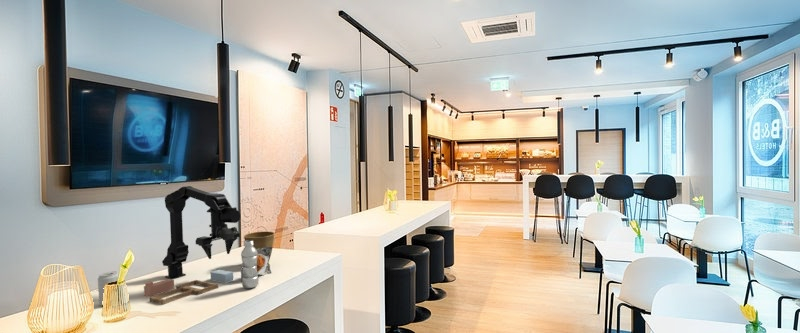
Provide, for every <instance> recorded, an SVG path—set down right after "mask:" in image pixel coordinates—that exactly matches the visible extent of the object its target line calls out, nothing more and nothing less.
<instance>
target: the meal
mask: <svg viewBox="0 0 800 333" xmlns="http://www.w3.org/2000/svg"><path fill="white" fill-rule="evenodd" d="M271 249H272V250H273V248H272V247H267V248H261V249H256V250H257V252H258V255H257V265H256V266H257V276H258V277H260V276H264V275H265V274H272V270H271V265H270V262H269V263H268V259H269V257H270V255H271V256H272V253H271V251H270V250H271ZM270 258H271V257H270ZM240 266H241V267H242V268H240V281H241V282H242V278H243V263H242V262H241V264H240Z"/></svg>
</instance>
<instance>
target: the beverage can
mask: <svg viewBox="0 0 800 333" xmlns="http://www.w3.org/2000/svg"><path fill="white" fill-rule="evenodd" d="M118 279H119V274H118V272H117V271H108V272H103V273H100V274H99V275H98V278H97V286H98V287H97V288H98V289H97V290H98V305H100V306H102V301H103V293H104V289H103V288H104V286H105V284H107V283H110V282H115V281H118Z"/></svg>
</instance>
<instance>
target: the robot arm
mask: <svg viewBox="0 0 800 333" xmlns="http://www.w3.org/2000/svg"><path fill="white" fill-rule="evenodd" d="M190 198H192V199H194V200H198V201H201V202H203V203H204V205H206V206H207V207H209V208H208V209H207V210H206V213H210V224H209V225H208V226H209V227H208V228H210V230H211V232H210V233H209V236H207V235H206V236H199V237H196V239H195V245H198V247H201V248H202V250H203V251H204V253H205V254H206V256H207V258H208V259H209V260H211V259H212V246H213V244H212V242H213V241H217V240H223V241H224V244H225V249H226V254H227V255H229V254H230V253H231V251H232V248H233V244H234V243H235V241H236V240H238V239H239V238H240V237H241V232H240V231H239V230H238V228H237V226H232V227H228V224H237V223H238V222H239V221H240V219H241V213H240V211H239V210H238V209H237V207H236V206H235V207H232V205H231V203H230V202H229V200H228V199H227V197H226V195H225V194H224V193H212V192H211V193H210V192H207V191H204V190H202V189H200V188H199V189H198V188H195V187H193V186H191V185H187V186H182V187H180V188H179V189H176V190H175V191H172V192H171V193H169V194H167V195H166V196H165V197H164V204H165V209H166V210H167V211H168V212H169V223H170V243H169V246H168V248H167V251H166V255H165V257H164V259H163V260H162V265H163V266H165V267H167V274H168V275H165V276H164V278H167V279H171V280H175V279H177V278H180V277H183V276H186V273H184V272H183V263H186V262H187V259H188V256H189V253H190V252H189V245H188V244H185V242H184V231H183V229H184V228H183V211H184V209H185V207H186V201H188V200H189V199H190ZM227 223H228V224H227Z"/></svg>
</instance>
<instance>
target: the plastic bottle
mask: <svg viewBox="0 0 800 333" xmlns="http://www.w3.org/2000/svg"><path fill="white" fill-rule="evenodd" d="M253 245H254V244H253V240H247V241H245V240H244V242H243V246H244V247H243V249H242V251H241V253H240V256H241V264H242V263H243V278H242V281H241V285H242V287H243V289H253V288H256V287H258V285H259V279H260V278H259V276H257V266H256V265H257V255H258V252H257V250H256V249H255V248H254V247H253Z"/></svg>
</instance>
